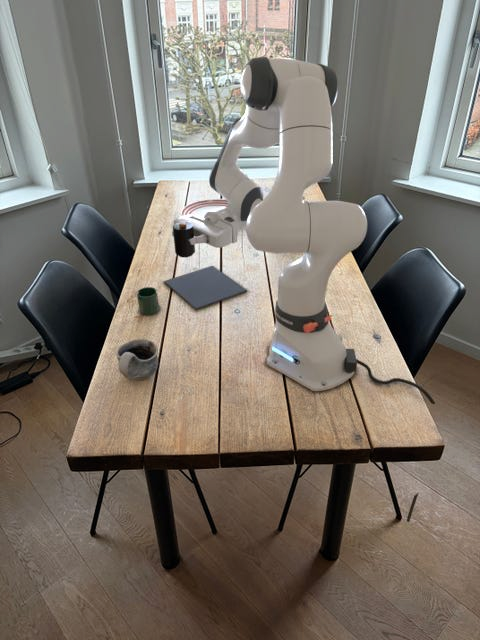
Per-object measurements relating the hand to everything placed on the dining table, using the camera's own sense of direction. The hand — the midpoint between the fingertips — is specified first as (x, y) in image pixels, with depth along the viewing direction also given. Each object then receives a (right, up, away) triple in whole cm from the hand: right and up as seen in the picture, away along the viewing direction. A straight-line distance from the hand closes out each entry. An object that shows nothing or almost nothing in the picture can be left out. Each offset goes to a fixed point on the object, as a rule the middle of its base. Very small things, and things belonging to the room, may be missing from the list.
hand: (181, 238), depth 135 cm
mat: (+6, -13, +13) cm, 19 cm away
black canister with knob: (+1, -4, +4) cm, 5 cm away
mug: (-7, -37, -22) cm, 44 cm away
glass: (-10, -20, +2) cm, 23 cm away
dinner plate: (+6, +19, +61) cm, 64 cm away
